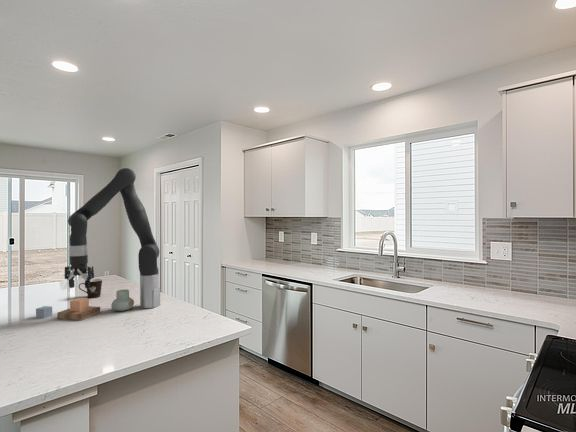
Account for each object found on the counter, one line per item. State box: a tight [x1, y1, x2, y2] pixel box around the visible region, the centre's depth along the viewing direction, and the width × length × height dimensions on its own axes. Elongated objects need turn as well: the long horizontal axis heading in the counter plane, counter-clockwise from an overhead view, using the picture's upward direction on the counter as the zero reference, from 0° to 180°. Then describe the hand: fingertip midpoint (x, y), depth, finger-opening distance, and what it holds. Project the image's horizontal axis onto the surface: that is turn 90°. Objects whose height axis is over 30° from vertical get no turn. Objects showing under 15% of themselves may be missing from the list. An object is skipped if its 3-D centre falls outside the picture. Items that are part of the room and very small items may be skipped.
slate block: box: [35, 305, 53, 319], centre depth 159 cm, size 4×4×4 cm
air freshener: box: [110, 288, 135, 312], centre depth 171 cm, size 11×8×10 cm
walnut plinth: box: [56, 305, 101, 321], centre depth 160 cm, size 13×12×3 cm
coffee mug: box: [78, 278, 103, 299], centre depth 197 cm, size 12×9×10 cm
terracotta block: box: [69, 297, 90, 312], centre depth 160 cm, size 6×6×5 cm
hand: (79, 287), depth 160 cm, fingers open, 8 cm apart
